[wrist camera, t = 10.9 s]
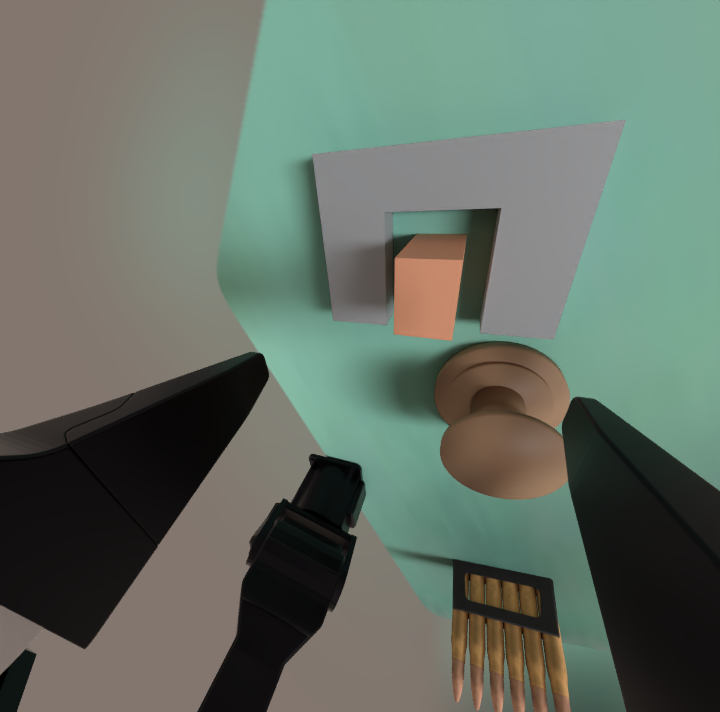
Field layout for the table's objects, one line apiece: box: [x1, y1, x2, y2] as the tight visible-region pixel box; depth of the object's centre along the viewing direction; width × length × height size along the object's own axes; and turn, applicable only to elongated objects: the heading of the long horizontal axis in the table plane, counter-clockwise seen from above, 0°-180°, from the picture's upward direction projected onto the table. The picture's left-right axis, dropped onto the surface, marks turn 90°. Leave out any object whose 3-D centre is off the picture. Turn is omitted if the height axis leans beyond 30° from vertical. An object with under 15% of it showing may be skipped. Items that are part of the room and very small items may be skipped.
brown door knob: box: [434, 342, 570, 499], centre depth 20 cm, size 9×9×6 cm
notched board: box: [312, 120, 626, 339], centre depth 17 cm, size 14×10×2 cm
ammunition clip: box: [451, 559, 571, 712], centre depth 30 cm, size 11×2×12 cm, turn 108°
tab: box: [394, 234, 467, 341], centre depth 16 cm, size 3×4×6 cm
